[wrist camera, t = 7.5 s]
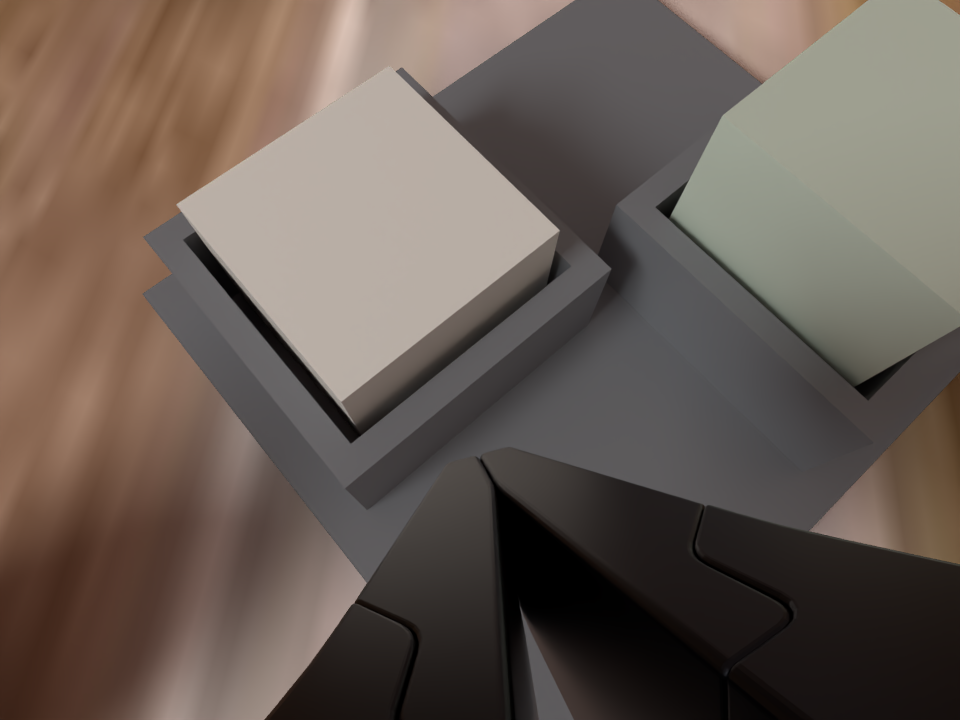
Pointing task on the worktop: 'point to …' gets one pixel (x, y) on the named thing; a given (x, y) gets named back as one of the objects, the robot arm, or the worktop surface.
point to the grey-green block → (845, 188)
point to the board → (575, 316)
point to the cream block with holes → (374, 244)
